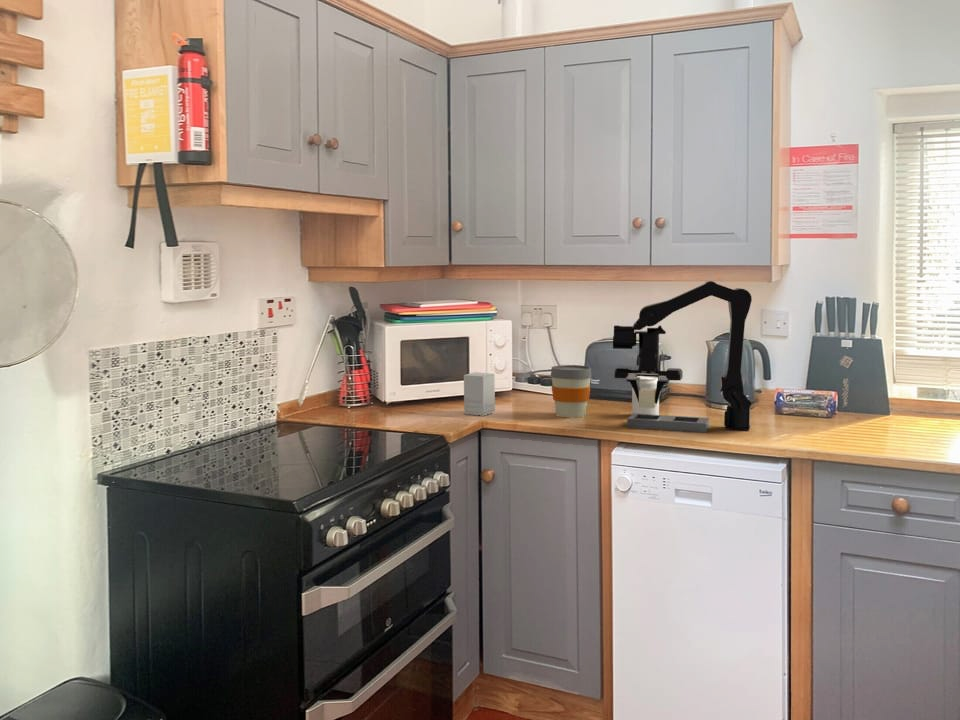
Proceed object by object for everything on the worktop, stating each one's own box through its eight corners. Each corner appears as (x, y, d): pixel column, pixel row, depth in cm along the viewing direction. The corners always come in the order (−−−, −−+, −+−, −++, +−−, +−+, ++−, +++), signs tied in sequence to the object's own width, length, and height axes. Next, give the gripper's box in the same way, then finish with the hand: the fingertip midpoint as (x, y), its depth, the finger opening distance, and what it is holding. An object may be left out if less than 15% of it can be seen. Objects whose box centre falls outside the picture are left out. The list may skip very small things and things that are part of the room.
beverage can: (658, 419, 255) (659, 379, 253) (631, 418, 256) (632, 379, 255) (658, 414, 262) (659, 376, 261) (632, 413, 264) (632, 375, 263)
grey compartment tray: (709, 426, 243) (709, 417, 243) (705, 432, 235) (706, 423, 234) (632, 421, 251) (632, 413, 250) (627, 427, 242) (627, 418, 242)
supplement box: (495, 412, 267) (495, 373, 265) (483, 416, 261) (483, 376, 259) (476, 410, 271) (475, 371, 269) (463, 414, 264) (463, 374, 263)
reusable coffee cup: (570, 420, 253) (571, 371, 251) (542, 415, 262) (542, 367, 261) (599, 415, 260) (600, 367, 259) (570, 410, 270) (571, 363, 268)
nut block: (656, 405, 245) (657, 388, 245) (654, 408, 241) (654, 390, 241) (641, 404, 247) (641, 387, 246) (638, 407, 243) (638, 390, 242)
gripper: (685, 347, 246) (684, 400, 248) (621, 345, 253) (621, 397, 255) (680, 351, 236) (679, 406, 238) (614, 349, 242) (613, 403, 244)
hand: (648, 402), depth 244 cm, fingers closed on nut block, 4 cm apart
